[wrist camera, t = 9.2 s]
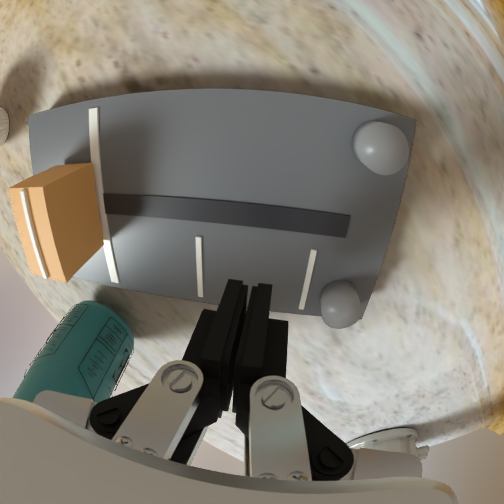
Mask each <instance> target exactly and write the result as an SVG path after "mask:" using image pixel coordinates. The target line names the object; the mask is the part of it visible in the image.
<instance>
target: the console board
mask: <svg viewBox="0 0 504 504" xmlns="http://www.w3.org/2000/svg"><path fill="white" fill-rule="evenodd" d="M28 121H29V139H30V151H31V161H32V169H33V176H34V175H36V174H38V173H40V172H42V171H45V170H47V169H49V168H51V167H53V166H56V165H65V164H80V163H93V171H94V181H95V190H96V198H97V205H98V212H99V218H100V224H101V230H102V235H103V241H104V246H102V247H101V248H100V249H99V250H98V251H97V252H96V253H95V254H94V255H93V256H92V257H91V258H90V259H89V260H88V261H87V262H86V263H85V264H84V265H83V266H82V267H81V268H80V269H79V270H78V271H77V272H76V273H75V274H74V276H73V277H72V278H75V279H80V280H84V281H89V282H93V283H98V284H103V285H107V286H112V287H117V288H122V289H127V290H133V291H138V292H143V293H149V294H155V295H160V296H166V297H172V298H178V299H184V300H191V301H197V302H204V303H211V304H218V305H219V304H220V301H221V298H222V295H223V293H224V290H225V287H226V284H227V282H228V279H234V280H242V281H243V285H248V294H247V307H248V303H249V298H250V294H251V289H252V286H258V283H264V284H272V285H273V286H272V294H271V303H270V311H273V312H282V313H292V314H302V315H313V316H322V319H323V321H324V323H325V324H326V325H328V326H329V327H332V328H337V329H340V328H346V327H349V326H351V325H353V324H354V323H356V322H357V321H358V320H359V319H362V317H363V314H364V312H365V309H366V307H367V304H368V302H369V299H370V296H371V294H372V291H373V288H374V286H375V283H376V280H377V277H378V274H379V272H380V269H381V266H382V263H383V260H384V257H385V254H386V250H387V247H388V244H389V241H390V237H391V234H392V231H393V227H394V224H395V220H396V217H397V213H398V209H399V205H400V201H401V197H402V193H403V189H404V185H405V180H406V176H407V171H408V166H409V161H410V156H411V151H412V145H413V139H414V133H415V126H416V119H413V118H410V117H406V116H403V115H399V114H396V113H392V112H389V111H385V110H381V109H377V108H373V107H369V106H364V105H360V104H355V103H350V102H345V101H340V100H335V99H329V98H323V97H317V96H310V95H303V94H295V93H286V92H275V91H263V90H247V89H178V90H162V91H151V92H141V93H132V94H124V95H117V96H111V97H104V98H99V99H93V100H88V101H83V102H78V103H74V104H69V105H65V106H61V107H57V108H53V109H49V110H46V111H42V112H39V113H35V114H32V115H29V116H28ZM247 307H246V308H247Z"/></svg>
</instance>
